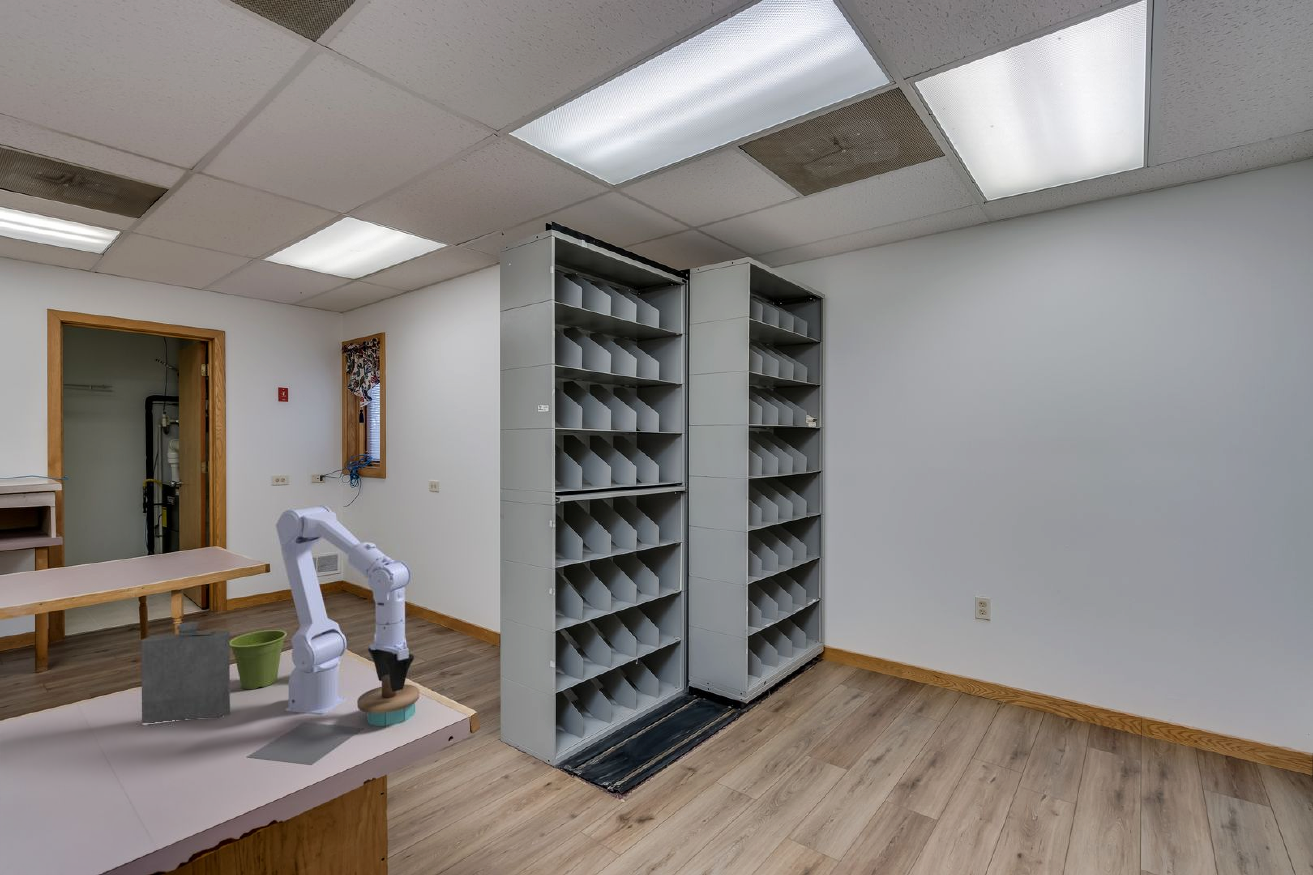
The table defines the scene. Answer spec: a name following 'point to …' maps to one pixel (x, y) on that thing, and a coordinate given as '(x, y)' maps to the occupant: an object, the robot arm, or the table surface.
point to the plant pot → (258, 657)
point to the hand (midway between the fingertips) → (390, 684)
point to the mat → (306, 743)
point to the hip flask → (185, 675)
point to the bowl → (391, 716)
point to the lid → (387, 698)
